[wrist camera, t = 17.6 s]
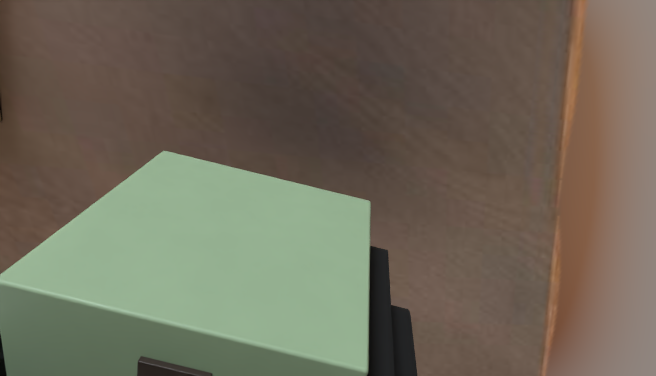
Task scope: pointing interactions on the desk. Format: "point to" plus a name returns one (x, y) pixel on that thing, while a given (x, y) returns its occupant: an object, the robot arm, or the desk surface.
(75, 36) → the desk surface
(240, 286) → the letter tile i
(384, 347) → the robot arm
